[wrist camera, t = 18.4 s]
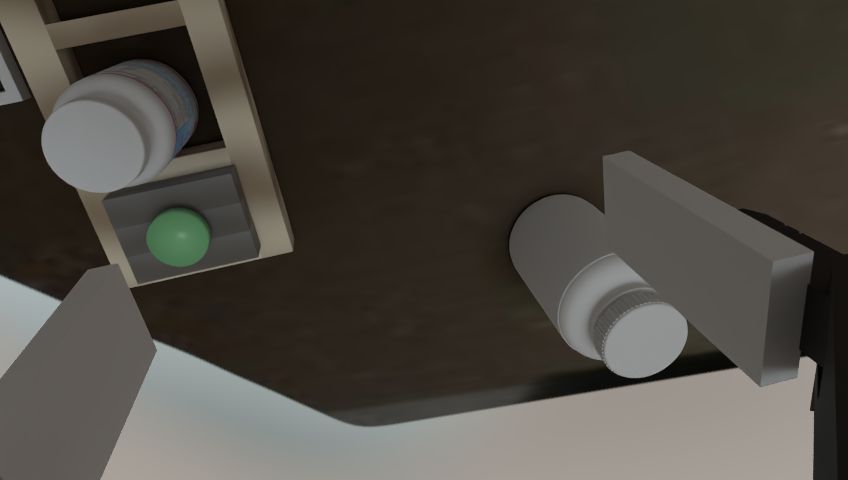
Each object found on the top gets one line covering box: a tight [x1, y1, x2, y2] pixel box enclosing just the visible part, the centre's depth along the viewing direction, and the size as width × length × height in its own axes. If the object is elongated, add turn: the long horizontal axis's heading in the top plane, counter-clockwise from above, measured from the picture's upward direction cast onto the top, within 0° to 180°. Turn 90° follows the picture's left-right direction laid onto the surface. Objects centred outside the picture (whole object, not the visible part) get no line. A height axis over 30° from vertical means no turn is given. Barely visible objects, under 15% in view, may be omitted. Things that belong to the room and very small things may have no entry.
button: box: [146, 208, 211, 267], centre depth 37 cm, size 4×4×3 cm
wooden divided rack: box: [0, 0, 294, 288], centre depth 36 cm, size 26×12×4 cm, turn 10°
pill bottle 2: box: [509, 194, 688, 378], centre depth 41 cm, size 8×8×15 cm
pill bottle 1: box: [42, 59, 199, 193], centre depth 33 cm, size 6×6×11 cm
